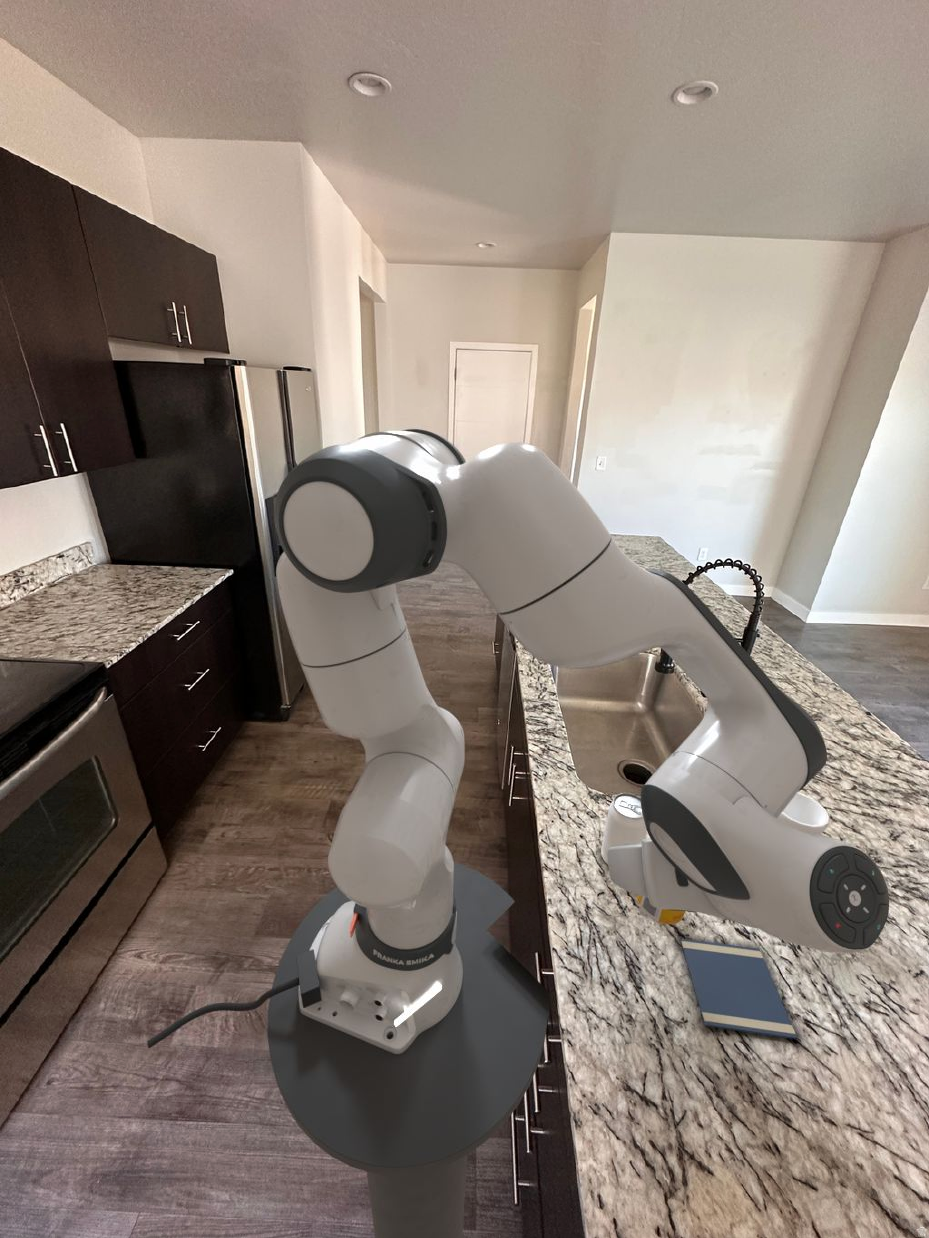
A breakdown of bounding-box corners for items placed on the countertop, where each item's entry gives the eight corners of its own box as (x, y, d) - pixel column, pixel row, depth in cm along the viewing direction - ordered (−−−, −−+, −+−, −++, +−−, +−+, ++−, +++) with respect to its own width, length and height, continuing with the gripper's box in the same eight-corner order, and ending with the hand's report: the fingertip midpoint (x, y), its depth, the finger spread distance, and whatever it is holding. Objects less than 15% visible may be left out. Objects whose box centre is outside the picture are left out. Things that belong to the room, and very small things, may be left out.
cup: (787, 853, 86) (812, 791, 81) (812, 895, 79) (842, 830, 73) (739, 848, 87) (761, 786, 81) (760, 889, 80) (785, 825, 74)
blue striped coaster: (704, 1026, 62) (705, 1024, 62) (680, 939, 72) (680, 938, 72) (796, 1039, 61) (797, 1037, 61) (758, 950, 71) (759, 948, 71)
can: (633, 880, 81) (646, 826, 76) (595, 862, 84) (605, 809, 79) (642, 852, 86) (655, 800, 81) (606, 836, 89) (616, 785, 84)
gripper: (817, 835, 52) (741, 829, 65) (631, 839, 51) (590, 833, 64) (834, 903, 50) (751, 883, 63) (640, 909, 48) (596, 887, 61)
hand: (669, 858), depth 63 cm, fingers closed on beer can, 6 cm apart
